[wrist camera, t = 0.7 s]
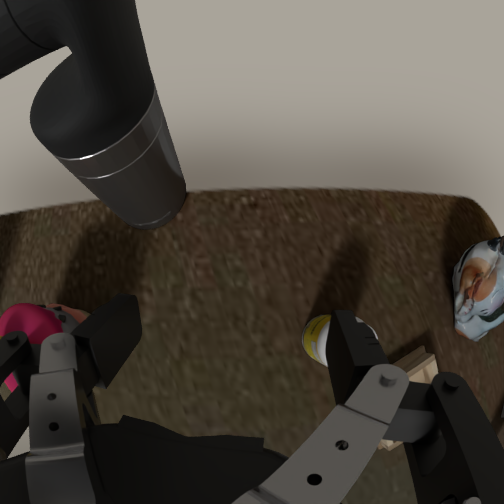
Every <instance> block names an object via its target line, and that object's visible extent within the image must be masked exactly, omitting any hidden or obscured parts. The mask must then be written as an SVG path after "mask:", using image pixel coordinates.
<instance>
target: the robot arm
mask: <svg viewBox="0 0 504 504" xmlns="http://www.w3.org/2000/svg"><path fill="white" fill-rule="evenodd" d="M65 46H67V47H69V49H70V50H71V52H72V54H71V55H70V56H68V57H67V58H66V59H65V60H64V61H63V62H62V63H61V64H59V65H58V66H57V67H56V68H55V69H54V70H53V71H52V72H51V73H50V74H49V76H48V77H47V78H46V80H45V81H44V82H43V84H42V85H41V87H40V88H39V90H38V92H37V94H36V96H35V98H34V100H33V104H32V107H31V111H30V124H31V128H32V130H33V133H34V134H35V136H36V137H37V139H38V140H39V141H40V142H41V143H42V144H43V145H44V146H45V147H46V148H47V149H48V150H49V151H50V152H51V153H52V154H53V155H54V156H55V157H56V158H57V159H58V160H59V161H60V162H61V163H62V164H63V165H64V166H65V167H66V168H67V169H68V170H69V171H70V172H71V173H72V174H73V175H74V176H75V177H77V179H79V180H80V181H81V182H82V183H83V184H84V185H85V186H86V187H87V188H88V189H89V190H90V191H91V192H92V193H93V194H95V195H96V196H97V197H98V198H99V199H100V200H101V201H102V202H103V203H104V204H105V205H107V206H108V207H109V208H110V209H111V210H112V211H113V212H114V213H115V214H116V215H118V216H119V217H120V218H121V219H122V220H123V221H124V222H126V223H127V224H128V225H130V226H132V227H134V228H138V229H153V228H157V227H160V226H162V225H164V224H166V223H167V222H169V221H170V220H171V219H173V218H174V217H175V215H176V214H177V213H178V212H179V210H180V209H181V207H182V205H183V203H184V200H185V195H186V183H185V180H184V177H183V174H182V171H181V168H180V164H179V161H178V158H177V155H176V152H175V149H174V145H173V142H172V139H171V136H170V133H169V129H168V126H167V123H166V120H165V117H164V113H163V110H162V107H161V104H160V100H159V97H158V94H157V90H156V87H155V83H154V80H153V76H152V73H151V70H150V66H149V62H148V58H147V53H146V49H145V44H144V40H143V36H142V32H141V28H140V24H139V19H138V15H137V9H136V5H135V0H0V79H1V78H3V77H5V76H7V75H9V74H11V73H12V72H14V71H16V70H18V69H19V68H22V67H23V66H25V65H27V64H29V63H31V62H32V61H35V60H37V59H39V58H41V57H43V56H45V55H47V54H49V53H51V52H53V51H55V50H58V49H60V48H62V47H65ZM141 335H142V325H141V319H140V313H139V306H138V300H137V297H136V296H135V295H129V294H121V293H119V294H117V295H116V296H115V297H114V298H113V299H111V300H110V301H109V302H108V303H106V304H104V305H102V306H100V307H98V308H97V309H96V310H95V311H93V312H92V313H91V315H89V316H88V317H87V318H86V320H84V321H83V322H81V323H80V324H79V325H78V326H77V327H76V328H75V329H74V330H73V331H72V332H71V333H70V334H68V333H56V334H53V335H50V336H48V337H47V338H46V339H45V340H44V341H43V342H42V344H30V342H29V339H28V336H27V334H26V333H25V332H23V331H13V332H10V333H7V334H6V335H4V336H3V337H2V338H1V339H0V386H1V384H2V383H3V382H4V381H5V380H6V378H7V377H8V376H9V375H10V374H11V373H12V374H13V376H14V378H15V380H16V382H17V384H18V386H17V387H16V388H15V389H14V391H13V392H12V393H11V394H10V395H9V397H8V398H7V399H6V400H5V402H4V400H3V399H2V397H1V395H0V504H342V503H341V501H342V499H343V498H344V497H345V495H346V494H347V493H348V491H349V490H350V488H351V487H352V486H353V484H354V483H355V481H356V480H357V478H358V477H359V475H360V474H361V472H362V471H363V469H364V468H365V466H366V465H367V463H368V461H369V460H370V458H371V457H372V455H373V453H374V452H375V450H376V448H377V447H378V445H379V443H380V441H381V440H382V439H383V440H391V441H400V442H403V444H404V448H405V451H406V455H407V459H408V463H409V467H410V471H411V475H412V479H413V483H414V488H415V492H416V497H417V502H418V504H504V449H503V447H502V445H501V443H500V441H499V439H498V437H497V435H496V433H495V431H494V430H493V428H492V426H491V424H490V422H489V420H488V418H487V417H486V415H485V413H484V411H483V409H482V408H481V406H480V404H479V402H478V401H477V399H476V397H475V396H474V394H473V392H472V391H471V389H470V387H469V386H468V384H467V382H466V381H465V380H464V379H463V378H462V377H461V376H459V375H457V374H455V373H451V372H441V373H438V374H436V375H435V376H434V378H433V380H432V382H431V384H428V383H420V382H413V381H409V377H408V375H407V373H406V372H405V371H404V370H402V369H401V368H399V367H397V366H394V365H390V363H389V361H388V359H387V357H386V355H385V353H384V351H383V349H382V347H381V345H379V341H378V340H377V338H376V336H375V334H374V332H373V330H372V329H371V328H370V327H369V326H368V325H366V324H365V323H364V322H357V320H356V318H355V316H354V314H353V312H352V310H333V311H332V314H331V319H330V324H329V330H328V335H327V340H326V347H325V355H326V361H327V365H328V369H329V374H330V378H331V383H332V387H333V392H334V397H335V402H336V407H335V408H334V409H333V411H332V412H331V413H330V414H329V415H328V417H327V418H326V419H325V420H324V421H323V422H322V424H321V425H320V426H319V427H318V428H317V429H316V430H315V431H314V433H313V434H312V435H311V436H310V437H309V438H308V439H307V440H306V441H305V442H304V443H303V444H302V445H301V447H300V448H299V449H298V450H297V451H296V452H295V453H294V454H293V455H292V456H291V457H290V458H289V457H287V456H285V455H283V454H281V453H278V452H276V451H273V450H270V449H266V448H263V443H264V438H257V437H243V436H232V435H219V436H201V437H187V436H183V435H181V434H178V433H176V432H174V431H171V430H169V429H167V428H165V427H162V426H160V425H158V424H156V423H153V422H149V421H145V420H141V419H137V418H133V417H129V416H126V415H123V416H122V418H121V420H120V421H119V423H118V424H117V423H114V424H101V421H100V417H99V413H98V409H97V404H96V400H95V395H94V392H93V390H92V389H93V388H94V386H97V387H101V388H104V389H107V387H108V386H109V384H110V383H111V381H112V380H113V378H114V377H115V375H116V374H117V373H118V371H119V370H120V368H121V367H122V365H123V364H124V362H125V361H126V360H127V358H128V357H129V355H130V354H131V352H132V351H133V350H134V348H135V347H136V345H137V344H138V343H139V341H140V339H141ZM28 426H29V437H30V451H29V452H26V453H23V454H20V455H18V456H15V457H12V458H8V456H9V455H10V453H11V452H12V450H13V448H14V447H15V445H16V444H17V442H18V441H19V439H20V438H21V436H22V435H23V433H24V432H25V430H26V429H27V427H28ZM7 458H8V459H7Z"/></svg>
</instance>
